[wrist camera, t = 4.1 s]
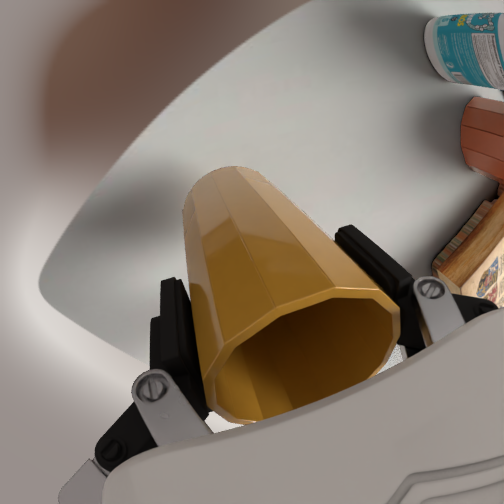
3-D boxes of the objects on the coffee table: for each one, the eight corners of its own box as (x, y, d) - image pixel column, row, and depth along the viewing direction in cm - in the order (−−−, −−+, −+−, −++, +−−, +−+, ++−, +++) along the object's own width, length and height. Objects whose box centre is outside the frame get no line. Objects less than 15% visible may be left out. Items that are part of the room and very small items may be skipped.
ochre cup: (169, 182, 16) (164, 340, 6) (271, 155, 16) (417, 255, 6) (197, 268, 19) (233, 441, 9) (285, 242, 20) (386, 383, 9)
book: (439, 345, 43) (522, 249, 39) (458, 367, 38) (543, 264, 33) (414, 269, 31) (519, 149, 27) (448, 300, 25) (550, 162, 21)
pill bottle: (452, 18, 16) (554, 21, 5) (469, 79, 20) (570, 101, 9) (410, 16, 16) (532, 9, 5) (432, 86, 20) (552, 110, 8)
